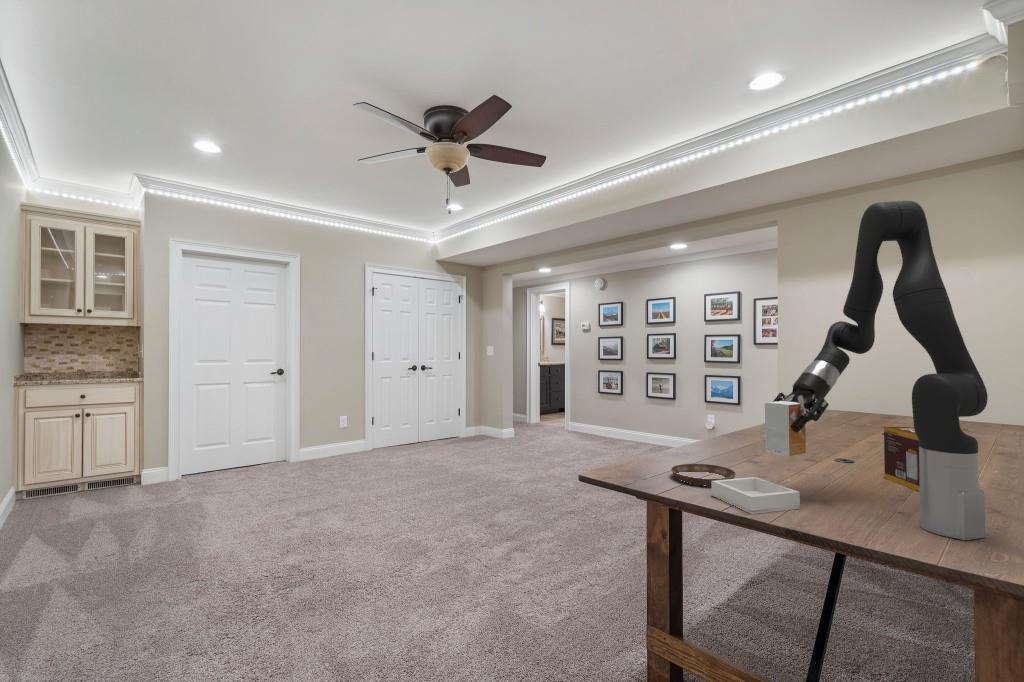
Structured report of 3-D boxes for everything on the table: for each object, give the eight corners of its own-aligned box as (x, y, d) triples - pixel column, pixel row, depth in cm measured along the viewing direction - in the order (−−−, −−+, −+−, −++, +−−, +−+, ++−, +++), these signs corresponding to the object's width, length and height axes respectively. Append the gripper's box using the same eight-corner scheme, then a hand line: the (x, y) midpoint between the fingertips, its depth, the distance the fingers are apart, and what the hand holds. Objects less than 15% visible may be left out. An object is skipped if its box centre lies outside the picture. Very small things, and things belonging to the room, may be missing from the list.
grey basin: (799, 508, 115) (799, 491, 115) (751, 514, 111) (751, 496, 111) (755, 491, 128) (755, 476, 128) (711, 496, 124) (711, 480, 125)
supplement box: (920, 478, 141) (920, 425, 141) (965, 494, 125) (964, 435, 126) (883, 477, 142) (882, 425, 142) (922, 493, 126) (921, 434, 127)
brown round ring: (671, 486, 134) (671, 475, 134) (670, 471, 151) (670, 461, 151) (740, 492, 129) (740, 480, 129) (731, 475, 146) (731, 465, 146)
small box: (789, 457, 118) (788, 404, 118) (764, 452, 123) (763, 402, 123) (806, 453, 122) (805, 402, 122) (781, 449, 128) (780, 400, 128)
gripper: (785, 370, 132) (751, 413, 129) (832, 372, 118) (795, 421, 115) (801, 389, 133) (768, 432, 130) (849, 393, 119) (813, 442, 116)
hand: (780, 427), depth 122 cm, fingers closed on small box, 8 cm apart
